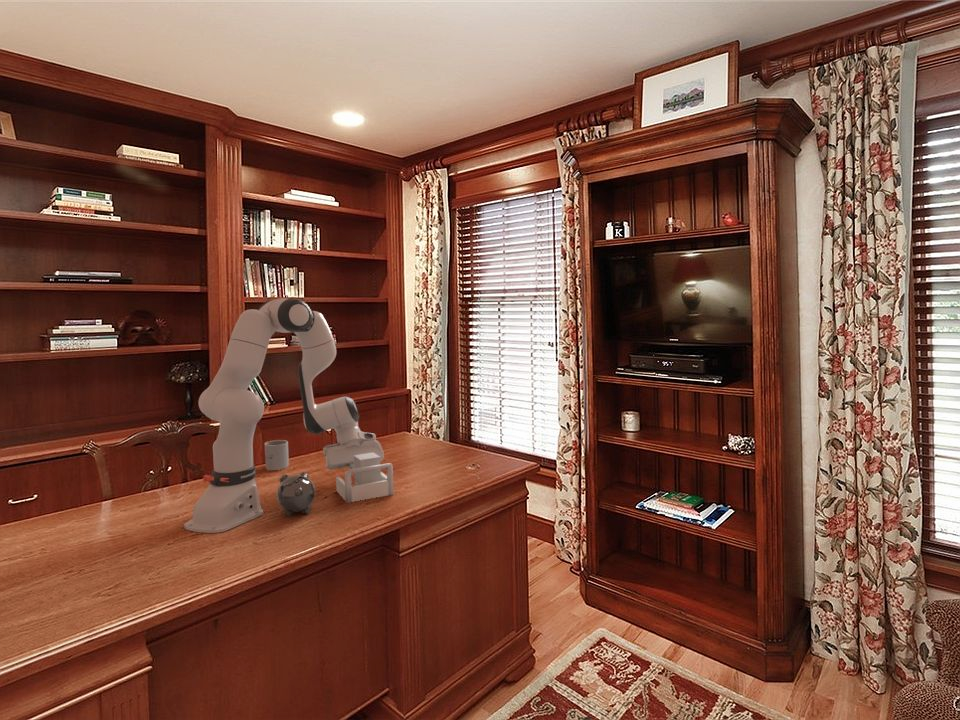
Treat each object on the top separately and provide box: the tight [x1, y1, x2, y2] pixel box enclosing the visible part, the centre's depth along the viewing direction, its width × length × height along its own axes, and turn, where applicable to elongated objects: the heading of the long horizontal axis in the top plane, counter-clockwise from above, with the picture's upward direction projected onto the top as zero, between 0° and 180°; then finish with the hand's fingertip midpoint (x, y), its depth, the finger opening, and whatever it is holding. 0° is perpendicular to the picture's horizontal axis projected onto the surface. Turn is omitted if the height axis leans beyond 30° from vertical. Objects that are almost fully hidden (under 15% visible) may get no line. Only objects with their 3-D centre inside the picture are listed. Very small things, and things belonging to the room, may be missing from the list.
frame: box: [335, 462, 394, 504], centre depth 180 cm, size 14×16×11 cm
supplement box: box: [353, 453, 382, 486], centre depth 181 cm, size 7×7×13 cm
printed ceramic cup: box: [264, 439, 290, 471], centre depth 212 cm, size 12×9×10 cm
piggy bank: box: [276, 471, 316, 518], centre depth 164 cm, size 11×15×12 cm
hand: (359, 475), depth 184 cm, fingers closed, pressing on supplement box
